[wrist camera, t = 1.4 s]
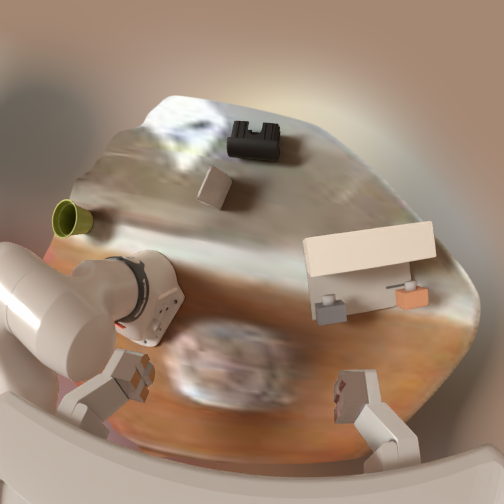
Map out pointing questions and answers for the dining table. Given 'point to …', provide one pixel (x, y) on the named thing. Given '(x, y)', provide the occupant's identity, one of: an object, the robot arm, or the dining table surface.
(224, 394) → the dining table surface
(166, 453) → the dining table surface
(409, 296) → the orange thick block
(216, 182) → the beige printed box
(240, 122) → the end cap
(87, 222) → the plant pot
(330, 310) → the grey plug
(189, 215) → the dining table surface
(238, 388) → the dining table surface
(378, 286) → the plug console
